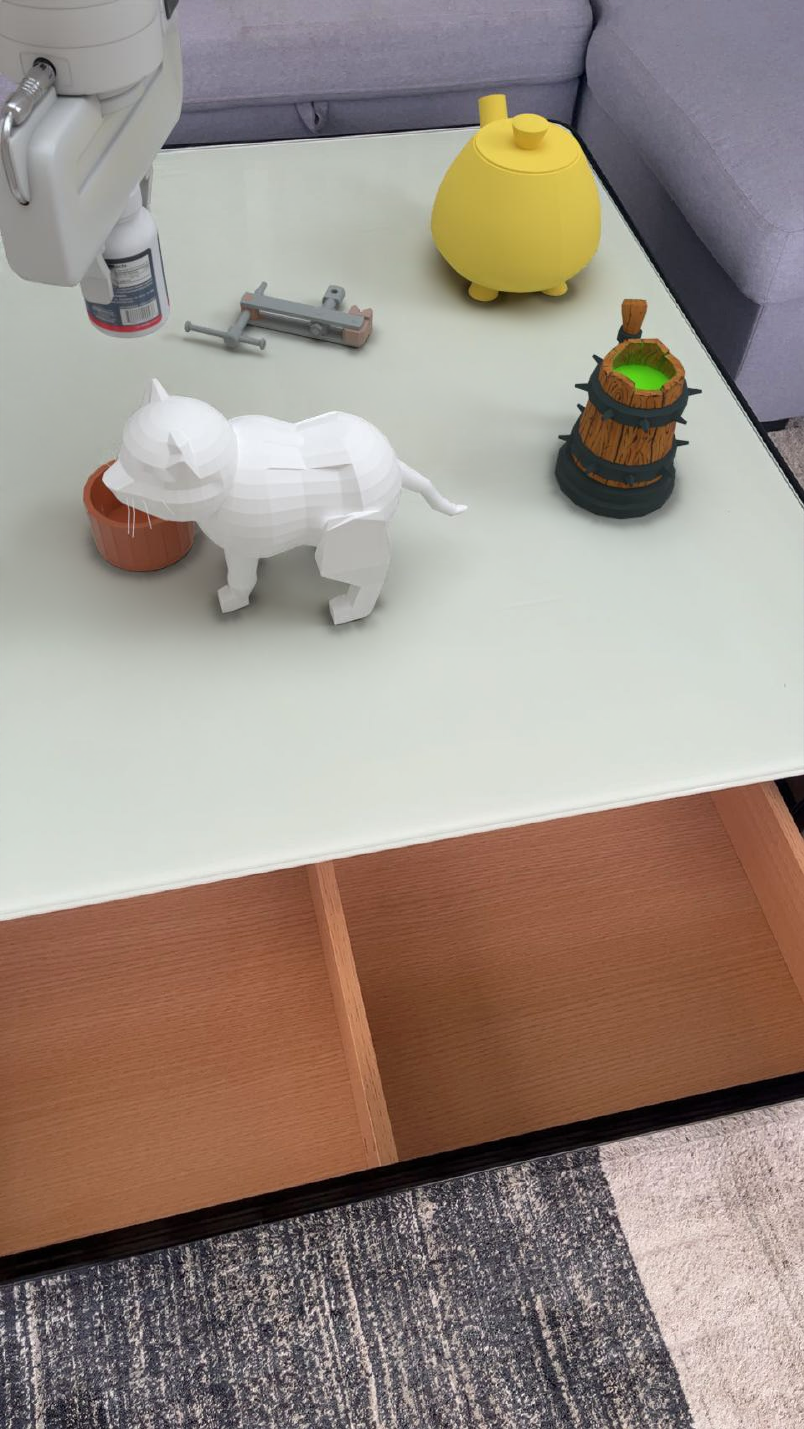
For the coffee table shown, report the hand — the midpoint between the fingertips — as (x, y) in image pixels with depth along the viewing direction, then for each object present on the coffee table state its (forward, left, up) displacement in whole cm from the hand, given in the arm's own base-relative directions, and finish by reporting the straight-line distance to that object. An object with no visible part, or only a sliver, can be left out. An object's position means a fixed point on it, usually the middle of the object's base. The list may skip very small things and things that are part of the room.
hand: (120, 265), depth 66 cm
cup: (0, -5, -19) cm, 20 cm away
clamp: (+4, +22, -19) cm, 30 cm away
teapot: (+22, +38, -19) cm, 48 cm away
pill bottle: (0, 0, -4) cm, 4 cm away
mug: (+34, +11, -19) cm, 41 cm away
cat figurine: (+12, -6, -19) cm, 24 cm away
